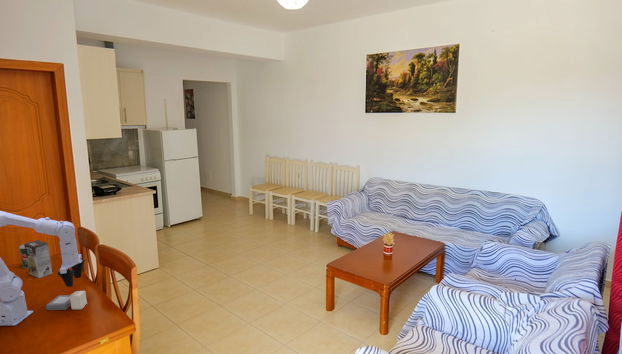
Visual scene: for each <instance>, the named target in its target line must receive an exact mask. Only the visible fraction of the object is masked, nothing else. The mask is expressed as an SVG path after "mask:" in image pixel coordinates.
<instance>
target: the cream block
mask: <svg viewBox="0 0 622 354" xmlns="http://www.w3.org/2000/svg"><path fill="white" fill-rule="evenodd" d="M69 295H70V302H71V306H70V307H71V310H82V309H83V308H85V307H86V306H87V305H88V301H87V299H88V298H87V293H86V290H75V291H74V292H73V293H71V294H69ZM86 304H87V305H86ZM85 305H86V306H85Z"/></svg>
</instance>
